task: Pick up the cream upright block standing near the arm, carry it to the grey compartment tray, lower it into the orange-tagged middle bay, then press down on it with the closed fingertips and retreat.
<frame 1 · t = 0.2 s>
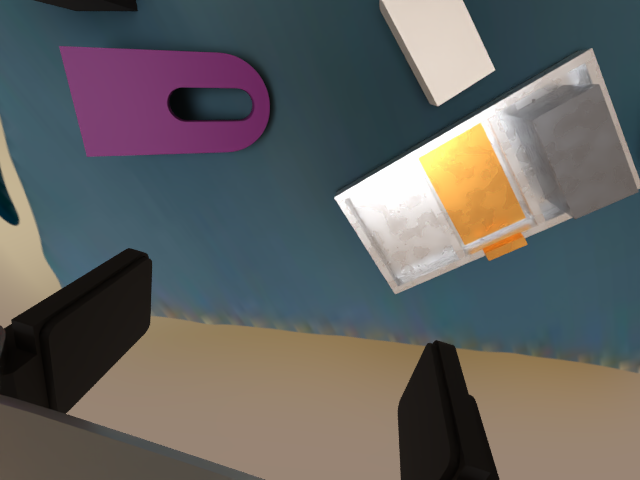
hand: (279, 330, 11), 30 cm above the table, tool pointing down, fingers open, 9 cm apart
grey compartment tray: (470, 186, 38), on the table
mounting bracket: (196, 102, 40), on the table
cream upright block: (429, 41, 33), on the table
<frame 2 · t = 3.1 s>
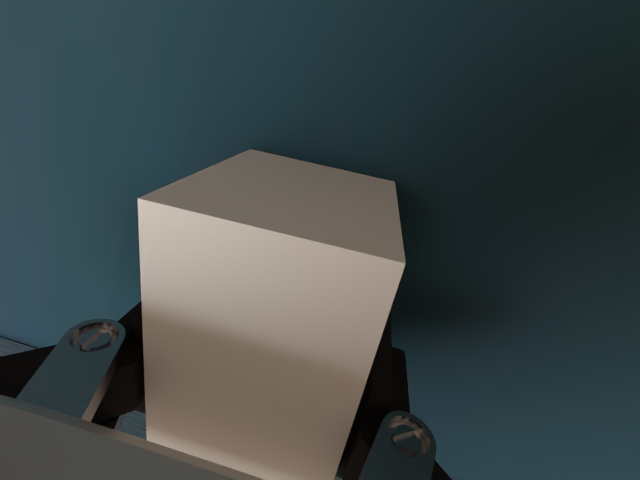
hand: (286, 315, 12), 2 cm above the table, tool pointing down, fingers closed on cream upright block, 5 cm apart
cream upright block: (298, 288, 14), on the table, touching gripper
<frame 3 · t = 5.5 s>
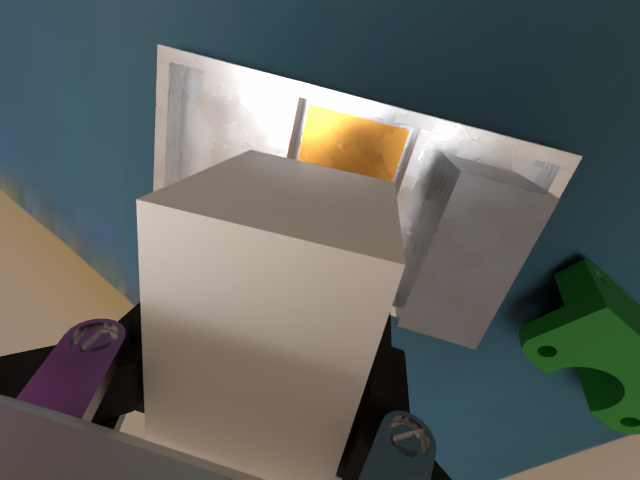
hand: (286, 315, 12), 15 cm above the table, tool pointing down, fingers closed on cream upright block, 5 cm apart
grey compartment tray: (337, 196, 26), on the table
cream upright block: (297, 289, 14), point 13 cm above the table, touching gripper
clamp: (581, 322, 27), on the table
when the fingers open (4 cm above the table, at t = 7.8 s): cream upright block drops 1 cm, resting on grey compartment tray.
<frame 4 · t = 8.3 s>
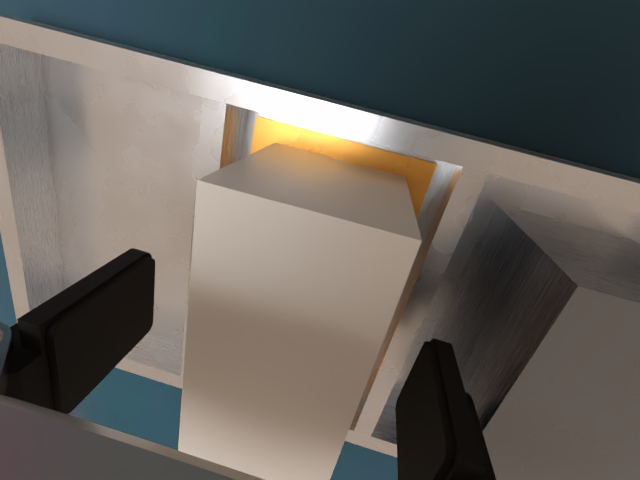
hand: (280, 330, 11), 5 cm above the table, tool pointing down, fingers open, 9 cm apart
grey compartment tray: (313, 266, 16), on the table
cream upright block: (311, 272, 15), point 1 cm above the table, touching grey compartment tray
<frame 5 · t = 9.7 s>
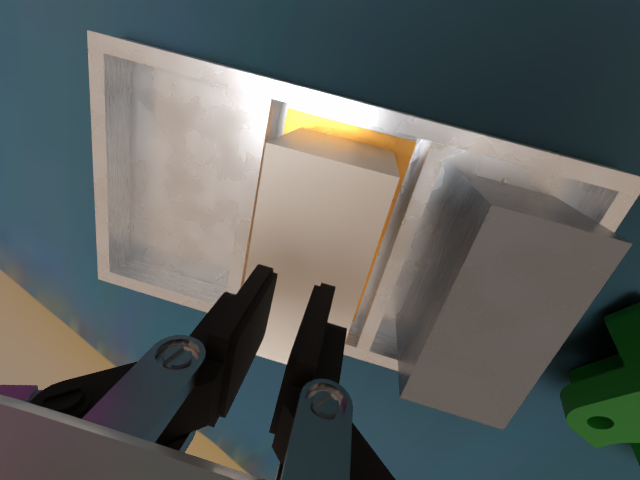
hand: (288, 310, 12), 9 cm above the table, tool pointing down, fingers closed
grey compartment tray: (326, 222, 21), on the table
cream upright block: (325, 226, 20), point 1 cm above the table, touching grey compartment tray
clamp: (632, 373, 22), on the table
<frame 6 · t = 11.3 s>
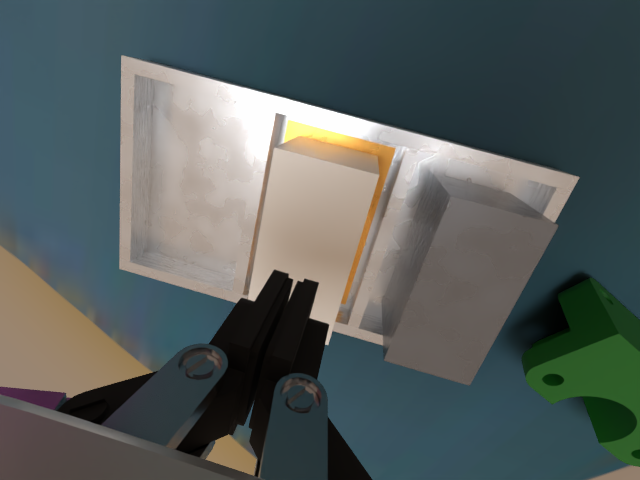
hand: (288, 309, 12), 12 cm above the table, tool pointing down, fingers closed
grey compartment tray: (320, 217, 24), on the table
cream upright block: (320, 219, 23), point 1 cm above the table, touching grey compartment tray
clamp: (585, 344, 25), on the table
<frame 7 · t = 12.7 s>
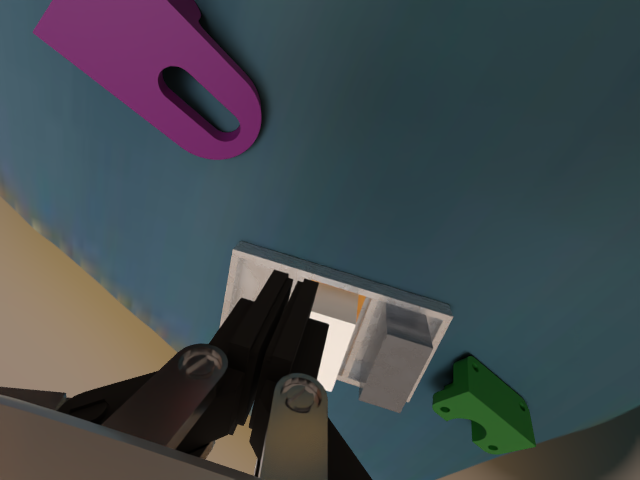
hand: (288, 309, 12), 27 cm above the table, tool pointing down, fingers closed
grey compartment tray: (328, 318, 44), on the table
mounting bracket: (194, 72, 36), on the table
cream upright block: (328, 320, 44), point 1 cm above the table, touching grey compartment tray
clamp: (473, 387, 46), on the table
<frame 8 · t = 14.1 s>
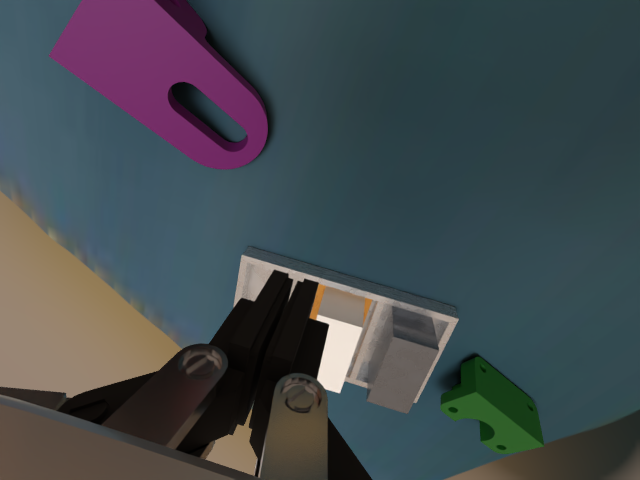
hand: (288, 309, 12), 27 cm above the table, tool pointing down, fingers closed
grey compartment tray: (335, 320, 45), on the table
mounting bracket: (202, 85, 37), on the table
cream upright block: (335, 323, 44), point 1 cm above the table, touching grey compartment tray
clamp: (481, 387, 46), on the table
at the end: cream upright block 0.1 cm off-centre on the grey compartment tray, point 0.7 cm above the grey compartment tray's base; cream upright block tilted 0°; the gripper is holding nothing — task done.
